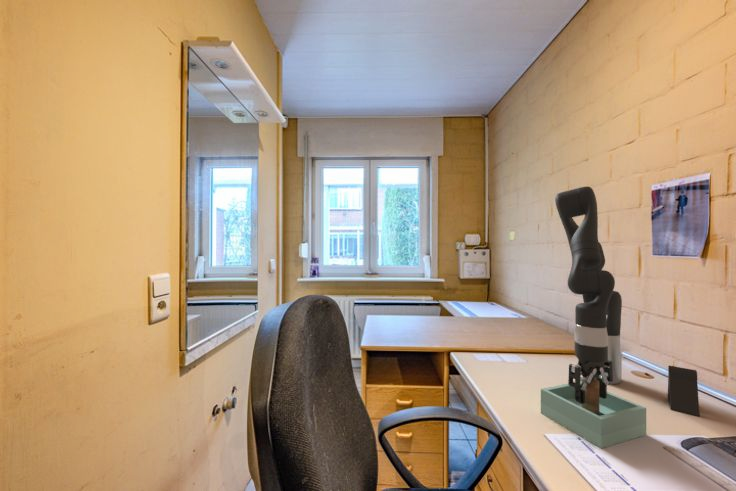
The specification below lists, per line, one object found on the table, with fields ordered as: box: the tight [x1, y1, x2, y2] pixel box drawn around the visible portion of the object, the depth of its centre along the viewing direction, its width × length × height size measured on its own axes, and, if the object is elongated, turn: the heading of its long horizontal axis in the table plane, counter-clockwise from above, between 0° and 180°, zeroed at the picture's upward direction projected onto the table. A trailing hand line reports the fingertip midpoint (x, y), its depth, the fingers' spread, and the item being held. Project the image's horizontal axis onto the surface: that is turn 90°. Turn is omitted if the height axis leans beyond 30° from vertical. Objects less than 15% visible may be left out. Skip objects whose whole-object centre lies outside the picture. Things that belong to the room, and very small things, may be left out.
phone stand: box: [667, 365, 700, 417], centre depth 94 cm, size 9×6×12 cm, turn 139°
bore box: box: [540, 381, 647, 449], centre depth 85 cm, size 17×17×7 cm
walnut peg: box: [581, 376, 599, 415], centre depth 85 cm, size 4×4×12 cm
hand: (591, 399), depth 85 cm, fingers open, 8 cm apart
